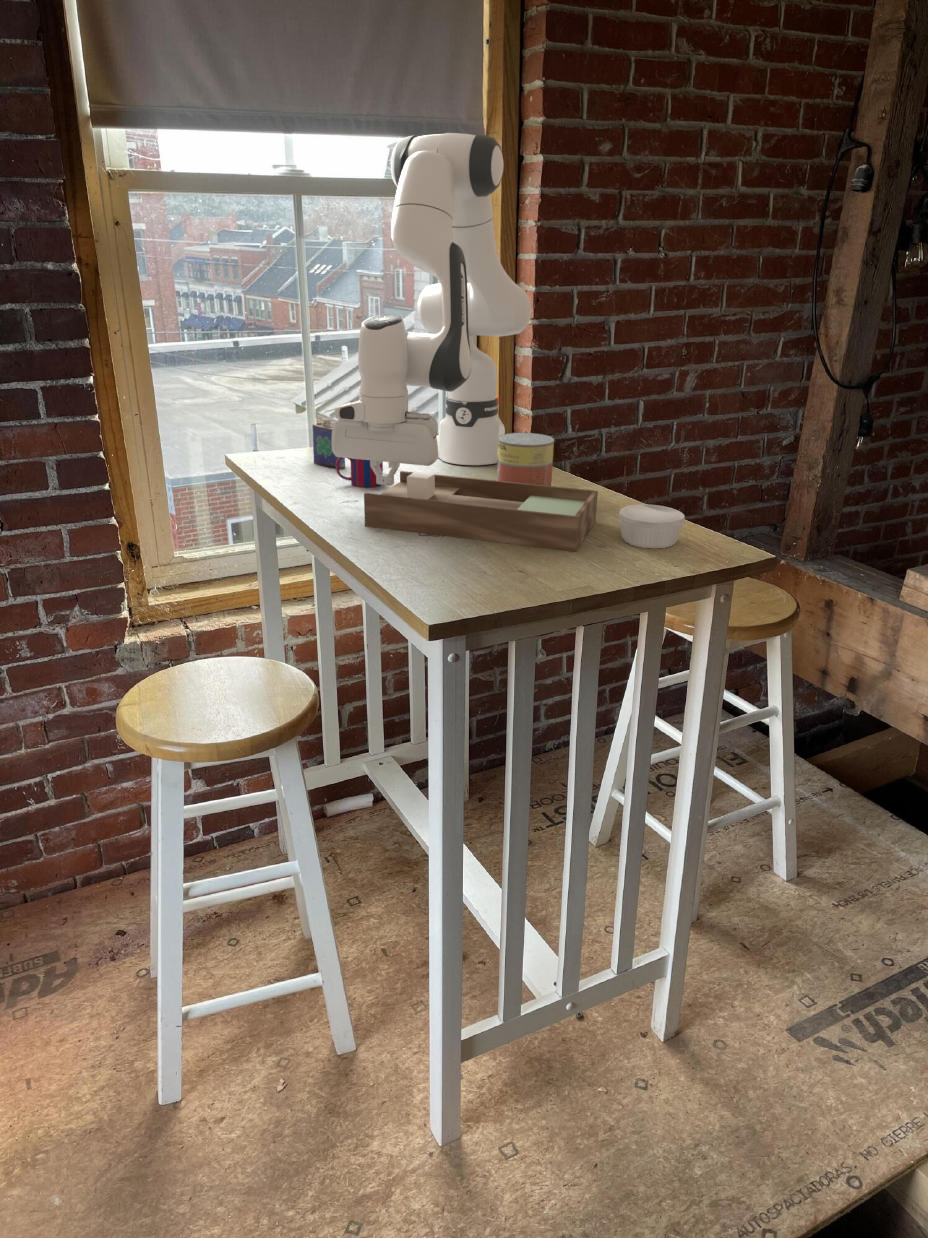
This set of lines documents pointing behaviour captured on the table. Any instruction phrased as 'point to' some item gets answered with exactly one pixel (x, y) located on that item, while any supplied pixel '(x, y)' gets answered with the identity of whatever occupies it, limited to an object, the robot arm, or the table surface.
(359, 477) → the mug
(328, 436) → the flask
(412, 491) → the block
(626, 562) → the table surface
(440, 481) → the box
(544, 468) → the canned food
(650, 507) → the ramekin
